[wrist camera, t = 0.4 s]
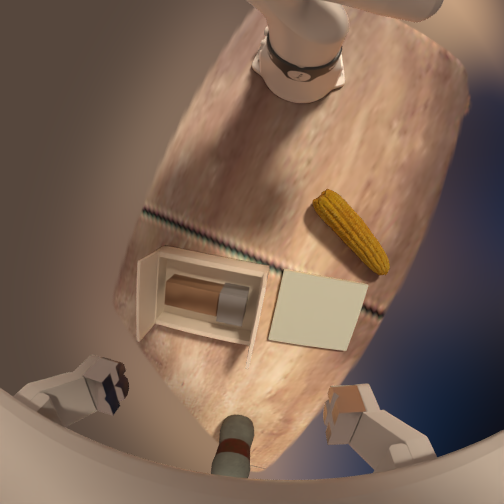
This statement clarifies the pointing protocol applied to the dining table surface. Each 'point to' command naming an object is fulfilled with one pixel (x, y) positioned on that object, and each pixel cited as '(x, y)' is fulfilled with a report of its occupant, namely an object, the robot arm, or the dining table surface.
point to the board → (316, 310)
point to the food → (351, 230)
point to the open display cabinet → (205, 268)
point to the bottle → (234, 447)
